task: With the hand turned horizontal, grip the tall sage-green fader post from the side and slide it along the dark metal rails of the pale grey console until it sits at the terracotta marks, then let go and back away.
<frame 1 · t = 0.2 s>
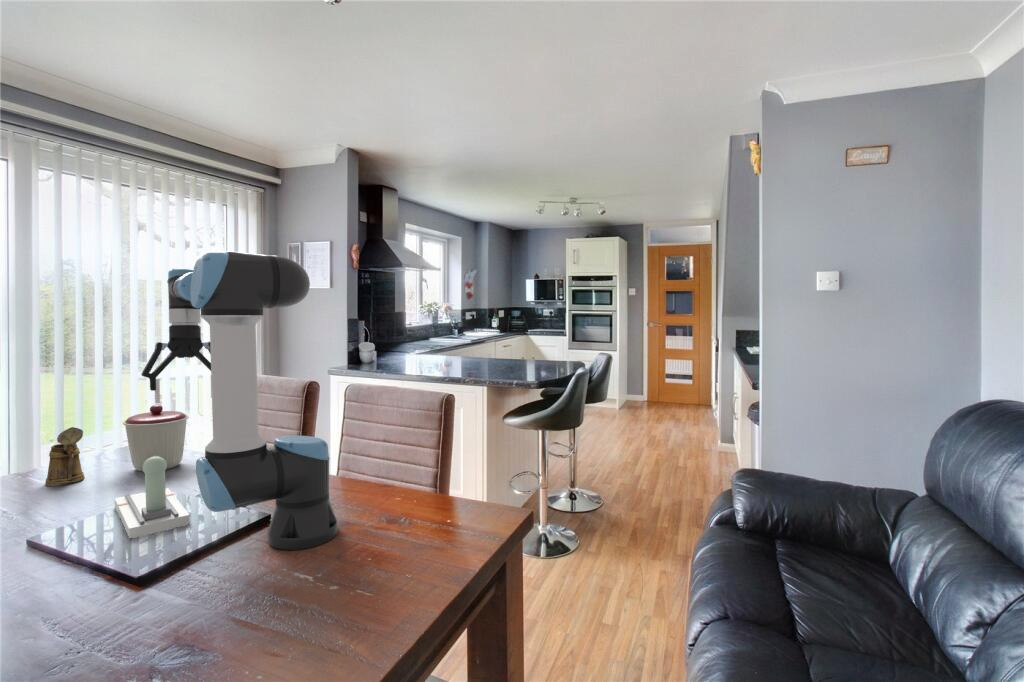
hand: (186, 400, 145), 27 cm above the table, tool pointing down, fingers open, 13 cm apart
wooden mug: (67, 483, 157), on the table
canister: (158, 468, 173), on the table
fader knob: (155, 485, 126), point 10 cm above the table, slide at 0.0 cm
fader console: (150, 515, 132), on the table
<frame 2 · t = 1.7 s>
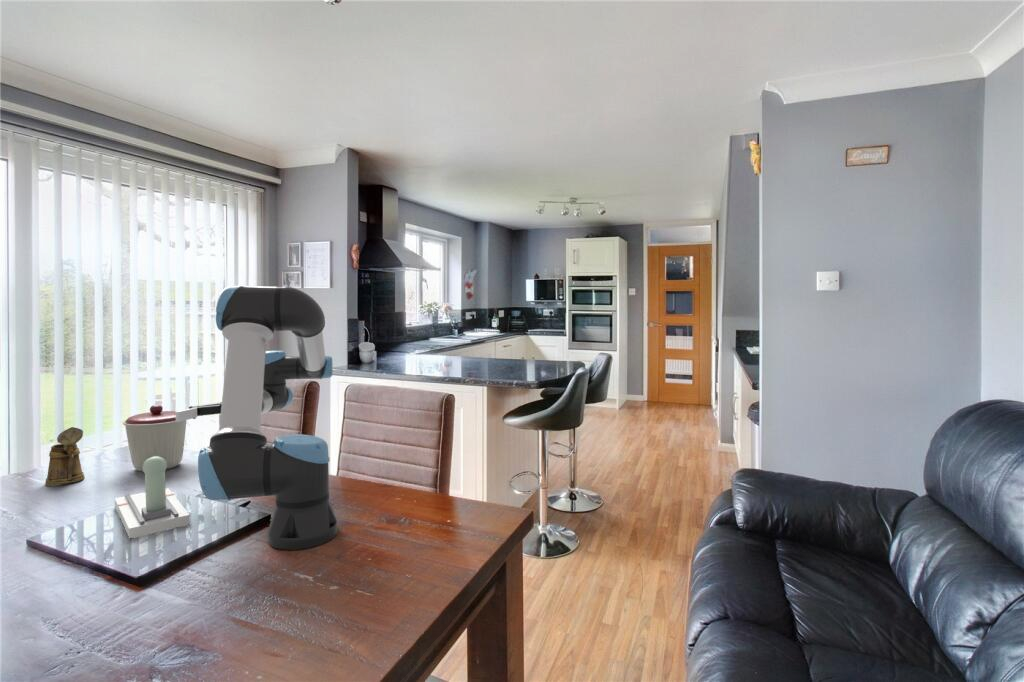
hand: (198, 418, 139), 24 cm above the table, tool horizontal, fingers open, 13 cm apart
nothing on the table moved.
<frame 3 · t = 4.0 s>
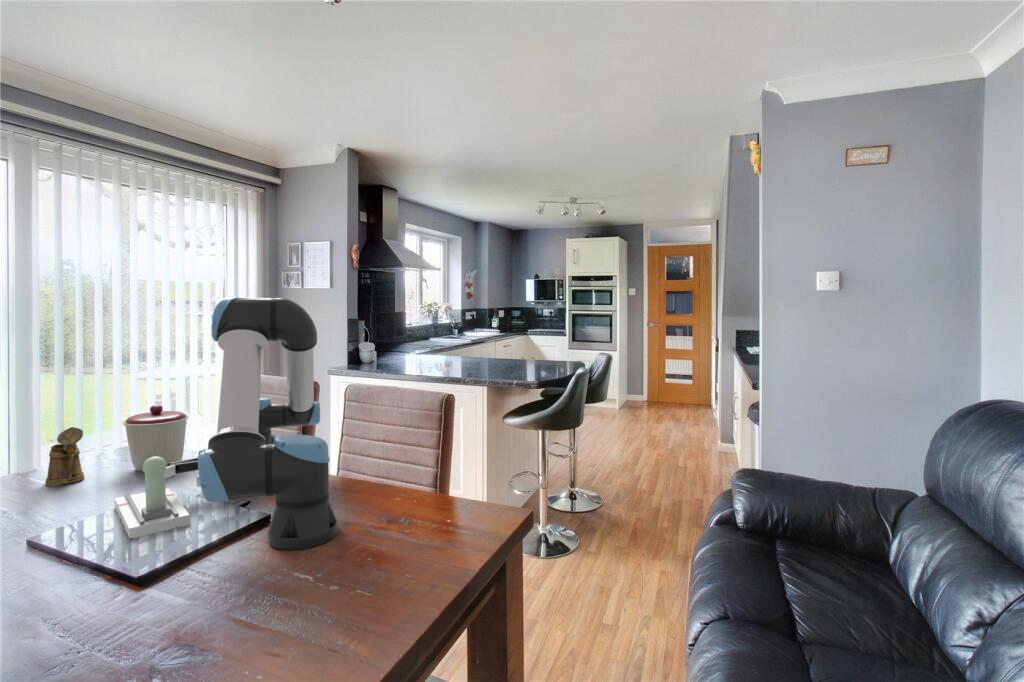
hand: (174, 479, 132), 9 cm above the table, tool horizontal, fingers open, 13 cm apart
nothing on the table moved.
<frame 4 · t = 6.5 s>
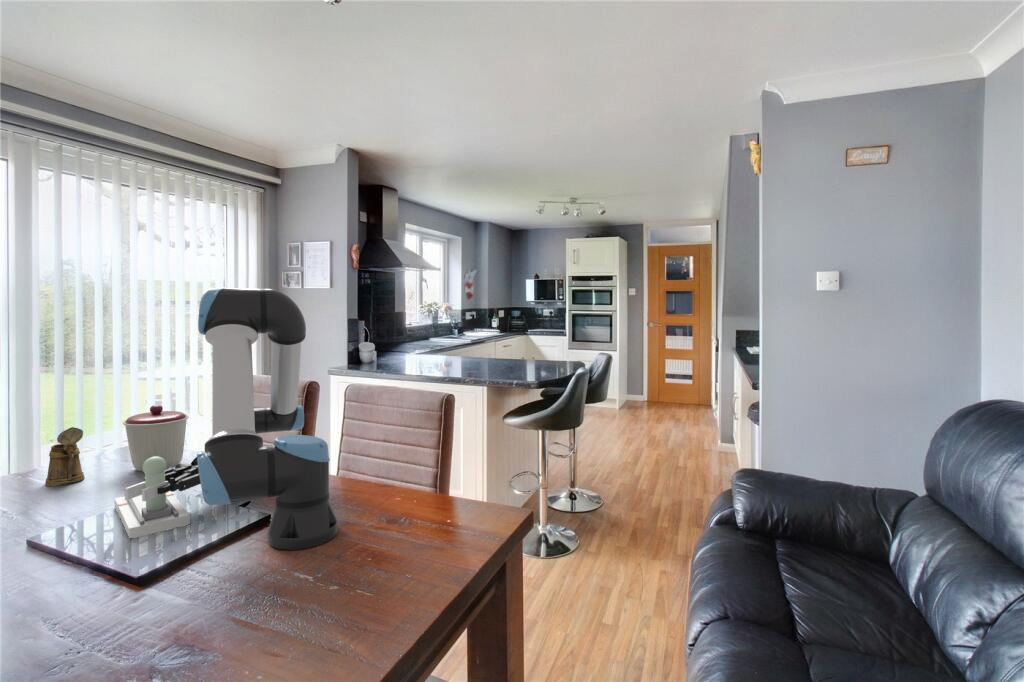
hand: (135, 494, 121), 10 cm above the table, tool horizontal, fingers closed on fader knob, 4 cm apart
fader knob: (155, 485, 126), point 10 cm above the table, slide at 0.0 cm, touching gripper
everything else where it was.
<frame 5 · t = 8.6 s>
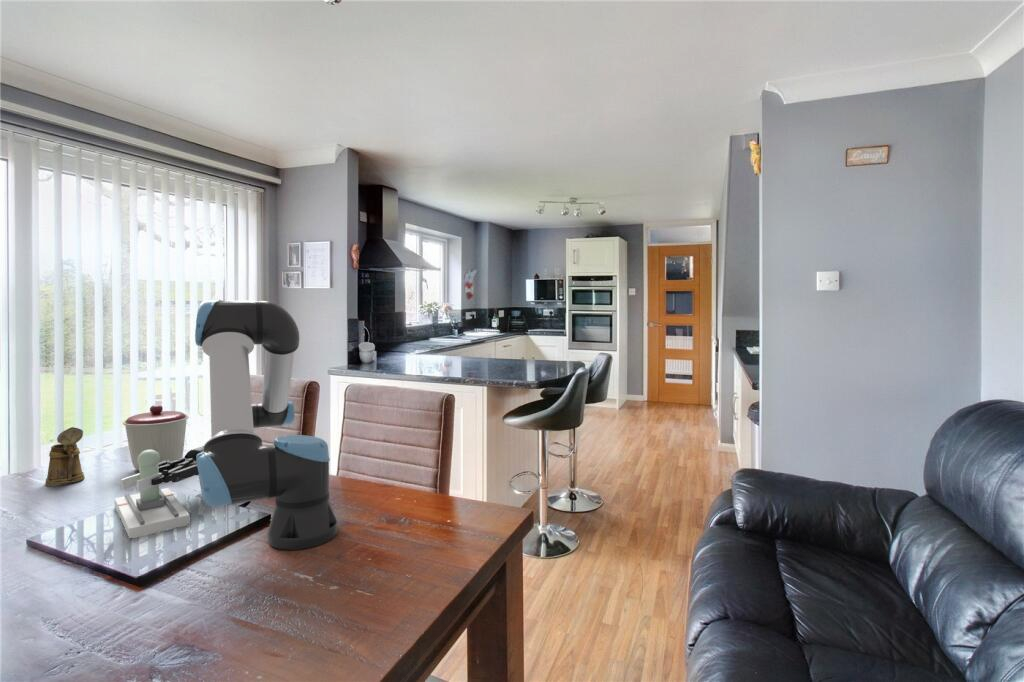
hand: (130, 485, 127), 10 cm above the table, tool horizontal, fingers closed on fader knob, 4 cm apart
fader knob: (149, 477, 132), point 10 cm above the table, slide at 8.3 cm, touching gripper
everything else where it was.
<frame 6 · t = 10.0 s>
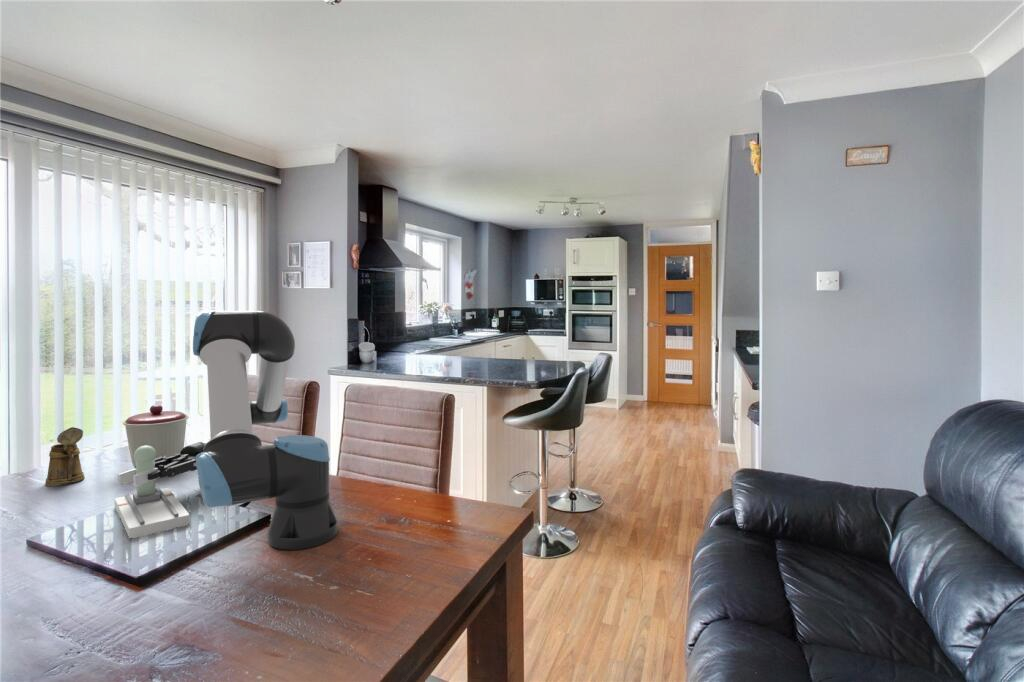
hand: (126, 480, 131), 10 cm above the table, tool horizontal, fingers closed on fader knob, 4 cm apart
fader knob: (145, 472, 136), point 10 cm above the table, slide at 13.8 cm, touching gripper
everything else where it was.
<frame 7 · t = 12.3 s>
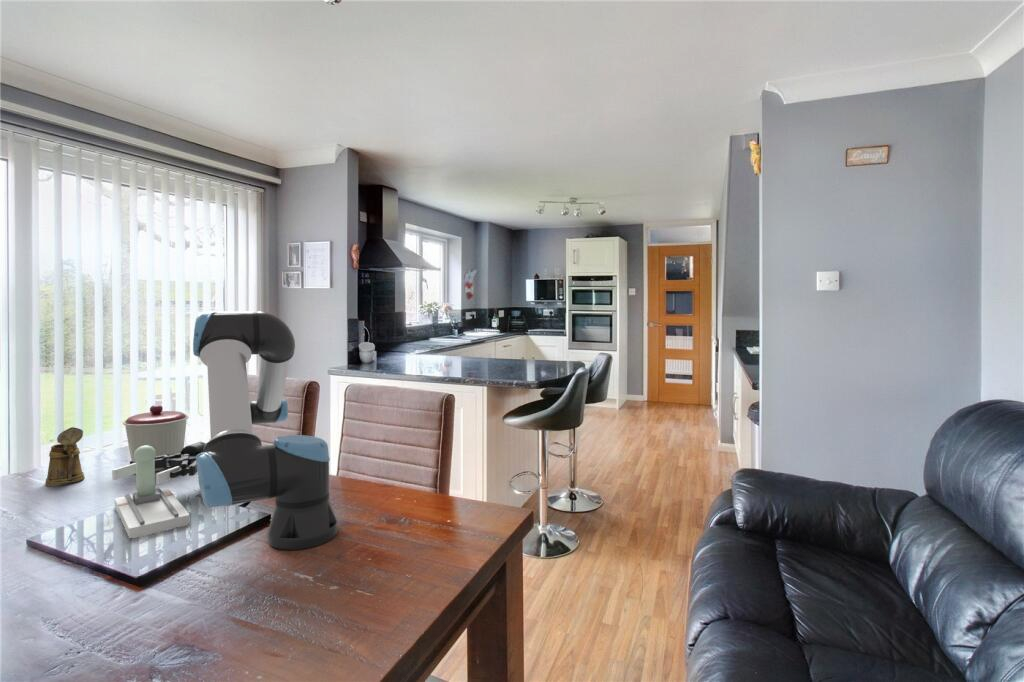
hand: (135, 477, 133), 10 cm above the table, tool horizontal, fingers open, 13 cm apart
fader knob: (145, 472, 136), point 10 cm above the table, slide at 13.9 cm
everything else where it was.
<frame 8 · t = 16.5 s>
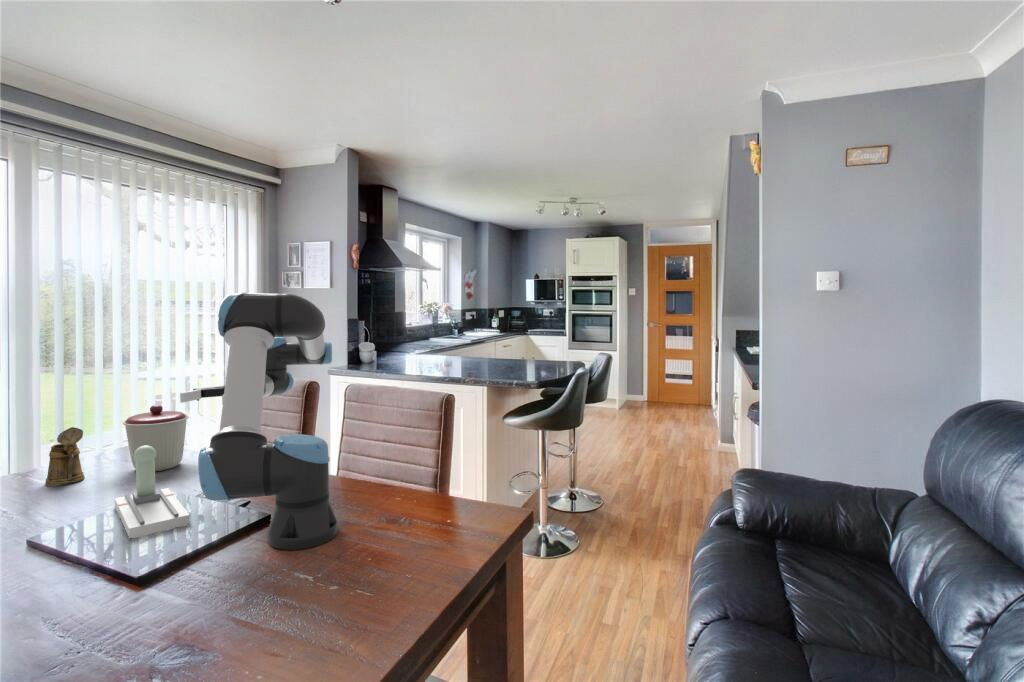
hand: (202, 398, 143), 28 cm above the table, tool horizontal, fingers open, 13 cm apart
nothing on the table moved.
at the end: fader knob slide at 13.9 cm; the gripper is holding nothing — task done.
